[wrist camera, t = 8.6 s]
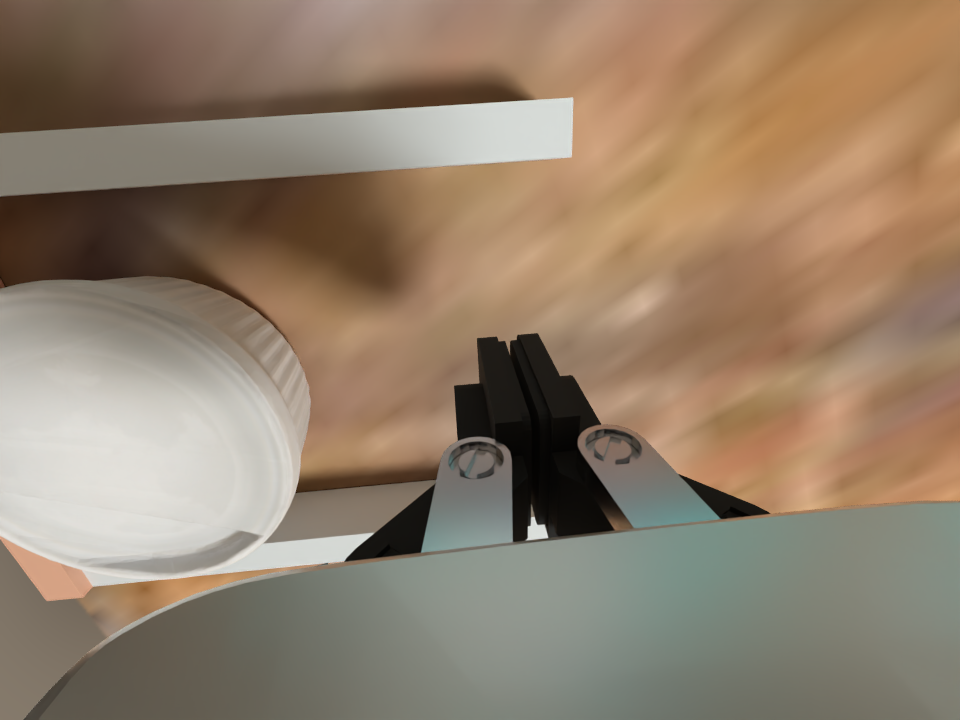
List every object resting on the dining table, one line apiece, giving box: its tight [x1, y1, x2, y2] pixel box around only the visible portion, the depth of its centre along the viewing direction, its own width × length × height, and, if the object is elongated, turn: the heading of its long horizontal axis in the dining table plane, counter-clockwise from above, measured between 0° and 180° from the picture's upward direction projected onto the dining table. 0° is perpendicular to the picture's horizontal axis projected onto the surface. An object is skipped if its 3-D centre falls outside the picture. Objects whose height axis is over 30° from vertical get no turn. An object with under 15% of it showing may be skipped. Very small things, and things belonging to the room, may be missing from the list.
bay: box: [0, 98, 573, 601], centre depth 16 cm, size 17×22×4 cm
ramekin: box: [0, 276, 311, 580], centre depth 15 cm, size 11×11×5 cm
